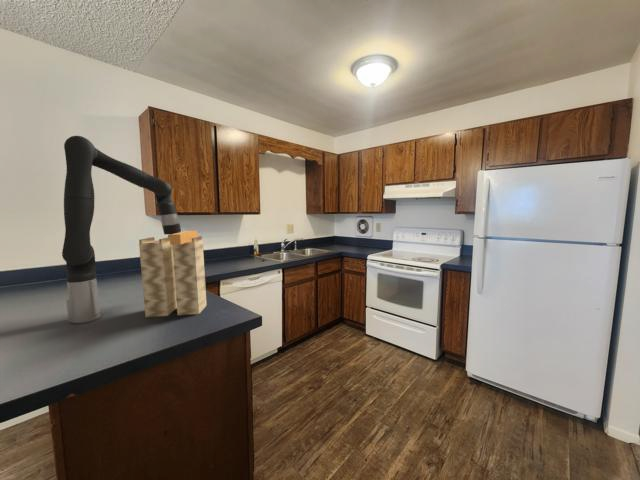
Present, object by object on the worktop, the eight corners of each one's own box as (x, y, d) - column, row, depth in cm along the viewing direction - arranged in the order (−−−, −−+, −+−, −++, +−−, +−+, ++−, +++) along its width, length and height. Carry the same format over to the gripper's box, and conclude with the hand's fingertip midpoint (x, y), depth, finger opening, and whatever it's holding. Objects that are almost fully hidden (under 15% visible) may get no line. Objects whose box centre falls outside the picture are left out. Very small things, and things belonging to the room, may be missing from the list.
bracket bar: (170, 244, 104) (169, 234, 103) (188, 239, 124) (188, 230, 123) (180, 244, 104) (180, 234, 104) (197, 239, 124) (197, 230, 124)
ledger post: (177, 315, 115) (171, 239, 111) (186, 306, 126) (182, 236, 122) (199, 314, 116) (194, 238, 112) (206, 305, 127) (202, 236, 123)
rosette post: (145, 317, 113) (138, 239, 110) (157, 307, 124) (152, 237, 121) (167, 315, 114) (161, 239, 111) (178, 306, 125) (172, 236, 122)
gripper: (159, 224, 131) (167, 256, 134) (164, 225, 120) (172, 259, 123) (176, 222, 136) (182, 252, 139) (182, 222, 125) (189, 255, 128)
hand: (178, 255), depth 131 cm, fingers open, 8 cm apart
